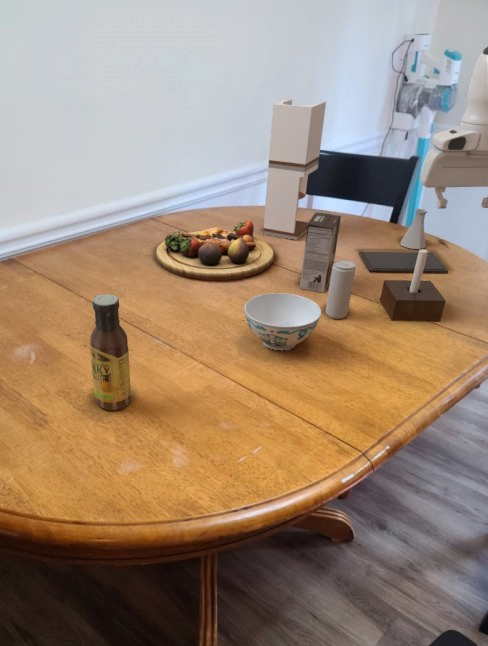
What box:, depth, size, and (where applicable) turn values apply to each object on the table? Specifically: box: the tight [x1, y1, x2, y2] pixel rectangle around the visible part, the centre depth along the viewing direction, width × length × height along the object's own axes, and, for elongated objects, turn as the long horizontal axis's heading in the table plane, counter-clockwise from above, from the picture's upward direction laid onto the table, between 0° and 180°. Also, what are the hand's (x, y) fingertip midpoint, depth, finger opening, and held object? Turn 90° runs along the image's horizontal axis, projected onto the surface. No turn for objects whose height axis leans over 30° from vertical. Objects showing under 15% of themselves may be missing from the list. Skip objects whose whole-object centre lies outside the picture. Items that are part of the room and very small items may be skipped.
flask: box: [400, 208, 428, 250], centre depth 159 cm, size 7×7×10 cm
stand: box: [379, 279, 447, 323], centre depth 127 cm, size 11×11×5 cm
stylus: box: [409, 248, 429, 293], centre depth 124 cm, size 2×2×14 cm
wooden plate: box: [155, 219, 275, 281], centre depth 151 cm, size 32×32×8 cm
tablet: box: [358, 251, 449, 275], centre depth 150 cm, size 20×13×1 cm, turn 88°
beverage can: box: [325, 259, 357, 320], centre depth 123 cm, size 5×5×12 cm
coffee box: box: [299, 212, 342, 293], centre depth 135 cm, size 9×6×16 cm
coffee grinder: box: [262, 98, 327, 241], centre depth 161 cm, size 11×11×35 cm
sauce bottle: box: [89, 293, 132, 411], centre depth 93 cm, size 6×6×20 cm
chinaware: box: [244, 292, 322, 352], centre depth 114 cm, size 15×15×8 cm
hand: (463, 207), depth 121 cm, fingers open, 8 cm apart
